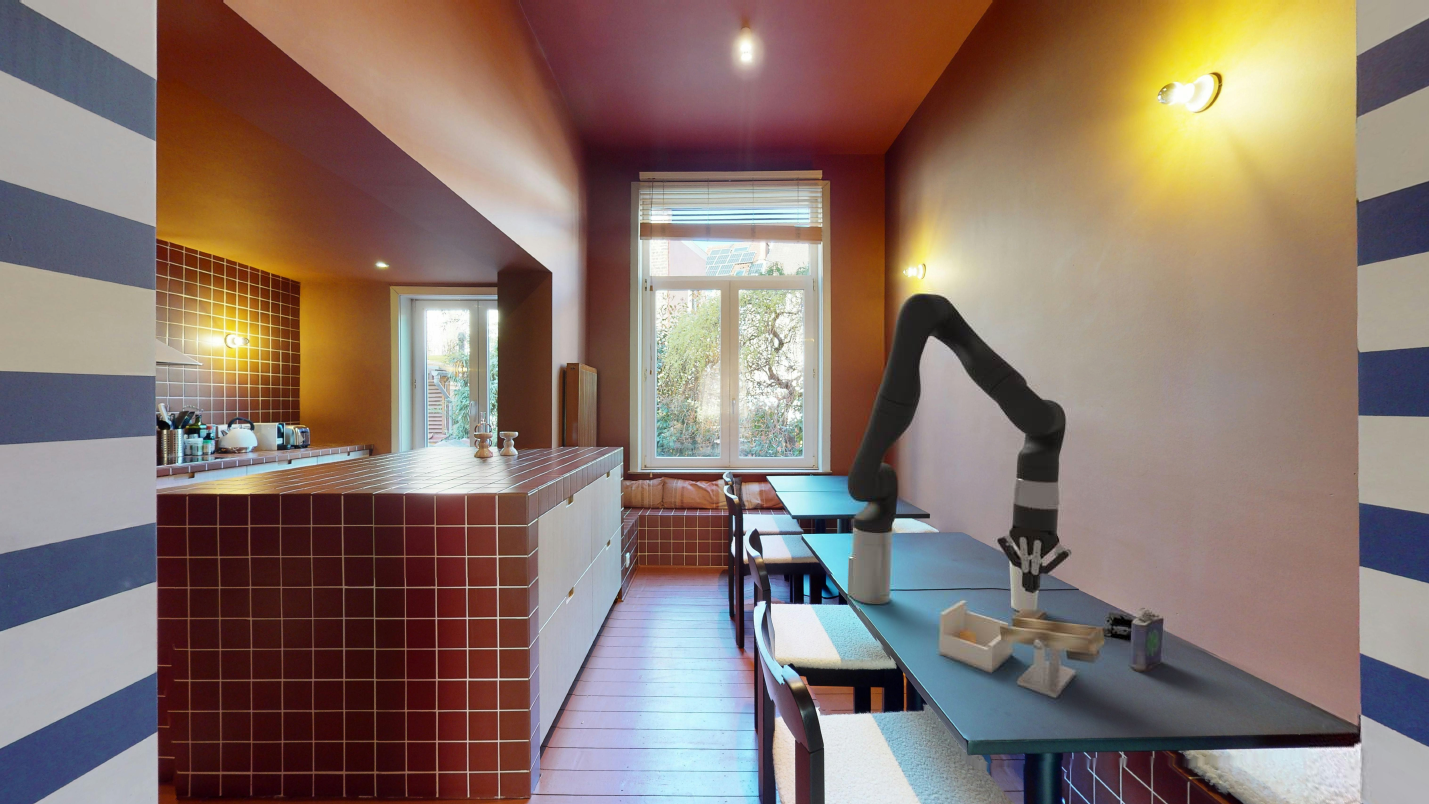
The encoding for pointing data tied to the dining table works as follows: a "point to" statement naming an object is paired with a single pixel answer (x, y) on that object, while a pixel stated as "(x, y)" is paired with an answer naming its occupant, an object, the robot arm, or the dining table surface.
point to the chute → (1055, 635)
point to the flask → (1146, 641)
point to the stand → (1046, 671)
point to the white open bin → (987, 633)
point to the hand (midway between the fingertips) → (1030, 591)
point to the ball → (967, 636)
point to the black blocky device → (1117, 621)
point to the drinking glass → (1020, 590)
